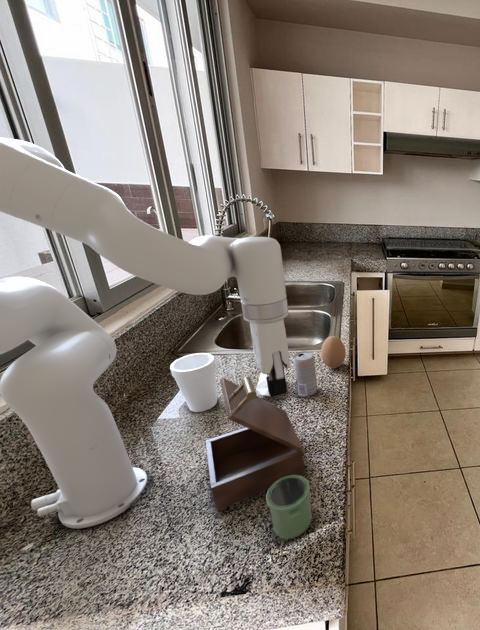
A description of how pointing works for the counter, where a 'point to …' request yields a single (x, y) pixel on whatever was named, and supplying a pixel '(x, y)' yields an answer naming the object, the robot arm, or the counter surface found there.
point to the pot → (289, 506)
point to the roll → (262, 386)
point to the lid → (258, 413)
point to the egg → (333, 352)
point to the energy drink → (305, 373)
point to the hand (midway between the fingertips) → (278, 393)
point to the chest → (247, 465)
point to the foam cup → (196, 380)
